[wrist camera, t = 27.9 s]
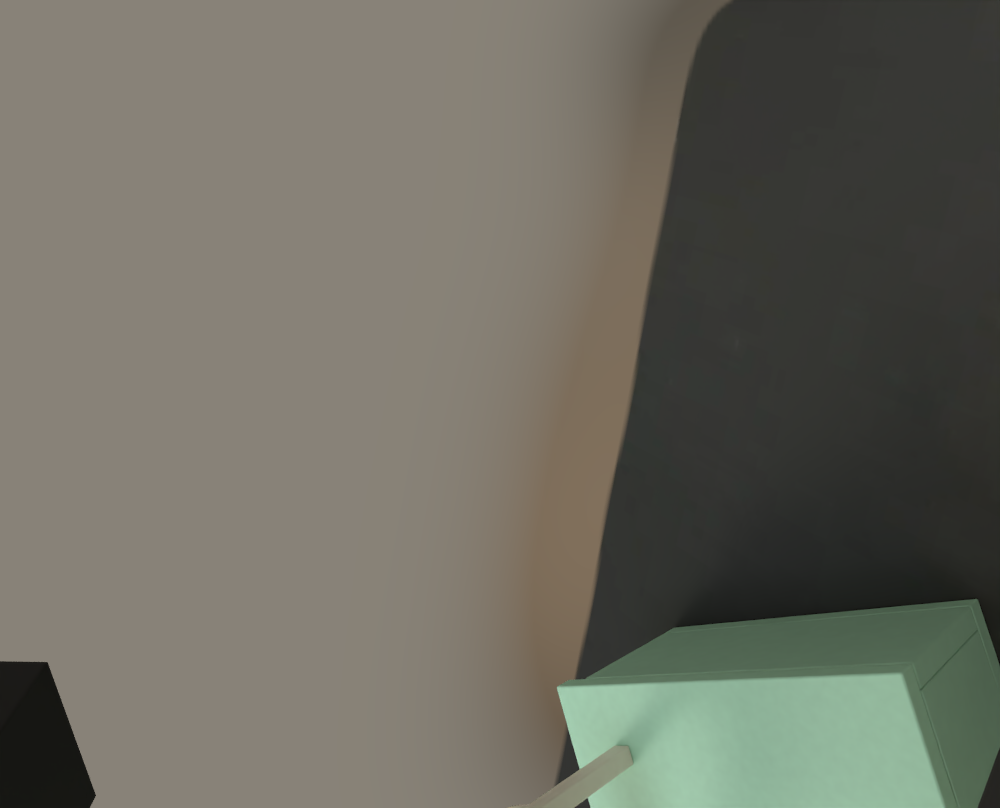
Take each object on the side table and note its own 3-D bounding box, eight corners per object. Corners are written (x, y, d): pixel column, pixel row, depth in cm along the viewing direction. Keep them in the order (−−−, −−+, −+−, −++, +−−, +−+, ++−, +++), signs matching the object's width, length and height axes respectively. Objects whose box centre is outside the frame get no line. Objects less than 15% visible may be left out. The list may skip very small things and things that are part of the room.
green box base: (742, 859, 37) (660, 944, 32) (673, 627, 38) (584, 678, 33) (1079, 902, 28) (1030, 1028, 23) (978, 598, 29) (912, 662, 24)
